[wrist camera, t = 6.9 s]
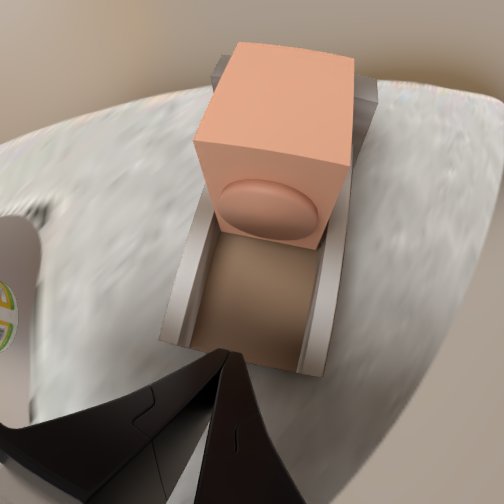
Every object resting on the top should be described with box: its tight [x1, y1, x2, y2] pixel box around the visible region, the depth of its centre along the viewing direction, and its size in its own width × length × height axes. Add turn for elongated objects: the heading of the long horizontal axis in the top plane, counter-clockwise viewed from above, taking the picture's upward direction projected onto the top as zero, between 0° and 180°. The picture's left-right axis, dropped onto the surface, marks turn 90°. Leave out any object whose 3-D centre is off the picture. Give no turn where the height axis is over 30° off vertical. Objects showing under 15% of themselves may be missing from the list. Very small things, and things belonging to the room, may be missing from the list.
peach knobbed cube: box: [193, 42, 354, 250], centre depth 14 cm, size 7×5×8 cm
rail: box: [159, 55, 378, 377], centre depth 15 cm, size 14×8×7 cm, turn 167°
